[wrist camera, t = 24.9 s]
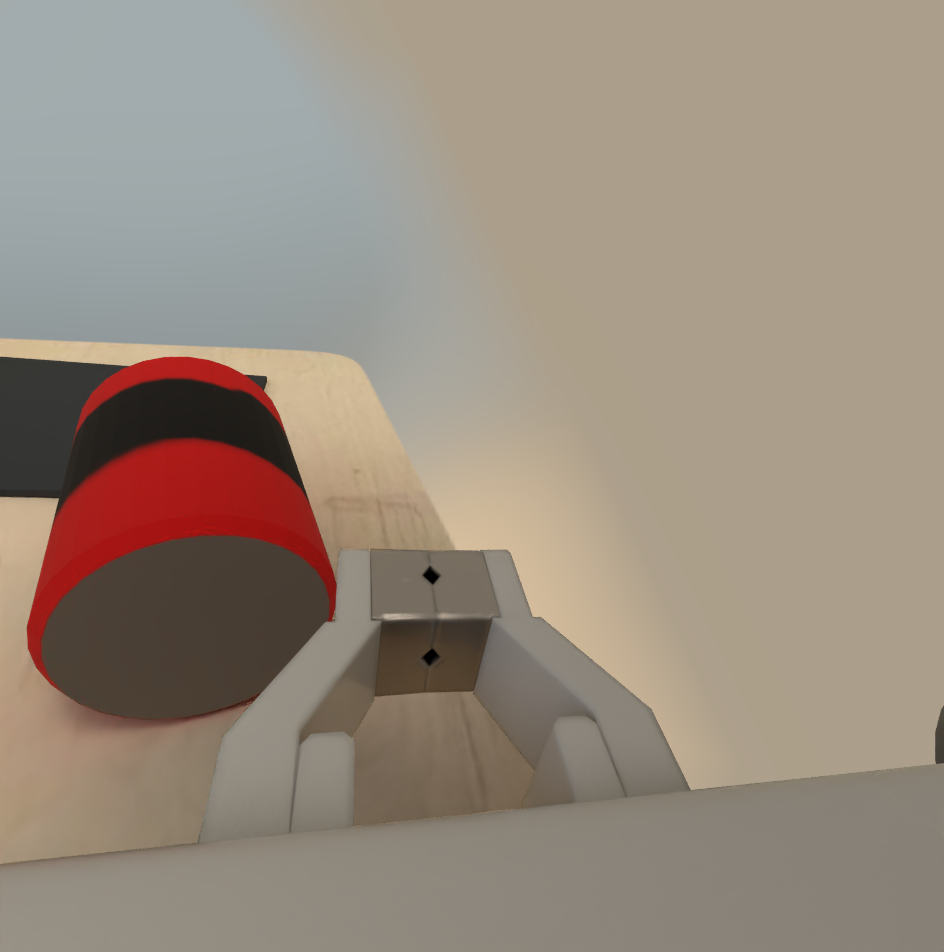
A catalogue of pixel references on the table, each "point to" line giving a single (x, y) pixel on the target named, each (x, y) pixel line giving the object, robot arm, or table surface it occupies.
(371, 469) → the table surface
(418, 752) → the table surface
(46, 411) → the mat
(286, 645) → the soda can
